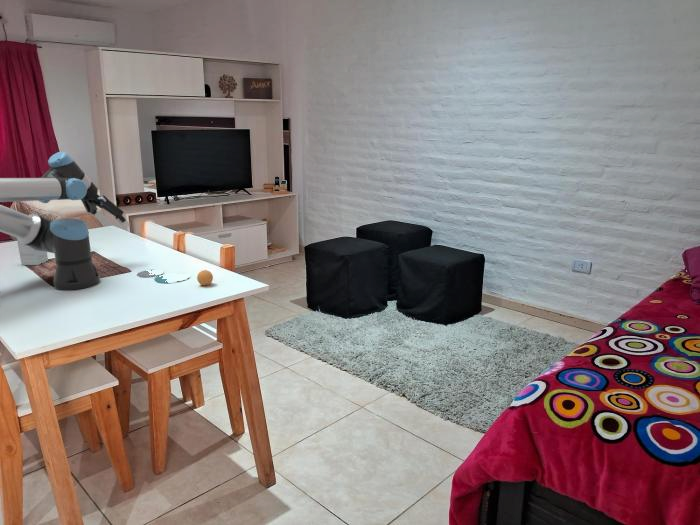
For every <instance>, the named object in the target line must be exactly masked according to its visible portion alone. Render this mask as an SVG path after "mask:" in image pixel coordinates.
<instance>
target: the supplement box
mask: <svg viewBox="0 0 700 525" xmlns="http://www.w3.org/2000/svg"><path fill="white" fill-rule="evenodd" d="M15 238H16V241H17V248H18V253H19V258H20V262H21V266H39V265H42V264H44V263H47V262H48V261H49V258H48V257H49V256H48V252H45V251H38V250H35V249H33V248H31V247H29V246H27V245H24V244H22V243H20V242H19V240H18V238H17V237H15ZM46 261H47V262H46ZM43 262H44V263H43ZM41 263H42V264H41Z"/></svg>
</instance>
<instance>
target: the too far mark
mask: <svg viewBox="0 0 700 525" xmlns="http://www.w3.org/2000/svg"><path fill="white" fill-rule="evenodd" d="M150 270H151V271H152V270H153V269H150ZM149 274H150V273H149V272H148V271H146V270H141V271H139V272H137V273H136V276H137V277H138V276H139V278H154V277H153V276H156V275H155V274H154V275H149ZM151 274H152V273H151ZM156 277H157V276H156Z"/></svg>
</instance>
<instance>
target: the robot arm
mask: <svg viewBox="0 0 700 525" xmlns="http://www.w3.org/2000/svg"><path fill="white" fill-rule="evenodd" d="M47 163H48V165H49V166H50V168H48V170H47V171H46V172H45V173H44V174H43V175H42V176H40V177H0V203H7V202H8V203H9V202H10V203H11V202H15V203H16V202H34V201H39V202H40V203H43V204H48V203H50V202H51V201H56V200H57V201H62V200H67V201H69V200H71V201H81V203H82V204H83V206H84V208H85V211H86V212H87V213H89V214H91V215H93V216H94V217H95V218H96V220H98V222H99V223H100V224H101V225H102V226H103V227H105V226H106V225H107V224H108V223H109V220H108V219H107V217H105V216H104V214H103V213H102V212H101V211H100V210H99V208H100V209H103V210H105V211H106V212H108V213H109V214H111V215H113V217H114V219H115V220H117V222H118V223H119V224H120V225H121V227H122V228H124V230H127V229H128V228H129V226H131V224H130V222H129V221H128V220H127V219H126V218H125V216H124V215H123V214H125V212H124V211H123V210H122V209H121V208H120V207H118V206H117V205H116V204H114V203H113V202H112V201H111V200H109V198H107V196H105V195H104V194H103V195H102V196H100V195H99V194H98V191H99V189H98V187H97V186H96V184H94V182H92V181H91V179H90V178H89V177H88V175H87V174H86V173H85V172H84V170H82V168H81V167H80V166H79V164H77V162H75V160H74V159H73V158H72V157H71V156H70V155H69V154H68V153H67V152H66V151H58V152H56V153H54V154H52V155H51V156H50V157H49V159H48V160H47ZM0 232H1V233H4V234H6V235H9V236H12V237H15V238H16V237H17V238H18V240H19V242H20V243H22V244H24V245H27V246H29V247H31V248H33V249H35V250H38V251H45V252H47V253H52V254H54V259H55V265H56V266H55V271H54V274H53V275H54V276H53V287H54V289H57V290H62V291H72V290H81V289H86V288H90V287H93V286H96V285H98V284H100V282H101V277H100V276H101V275H100V274H99V272H98V270H97V268H96V266H95V264H94V262H93V259H92V252H91V244H90V235H89V233H90V232H89V228H88V224H87V223H86V222H85V221H84V220H82V219H79V218H69V217H65V218H63V217H62V218H57V219H54V220H52V219H49V218H47V217H45V216H42V215H39V214H37V213H30V214H29V215H27V214H25V213H23V212H20V211H18V210H15V209H13V208H10V207H7V206H4V205H2V204H0ZM17 238H16V239H17Z"/></svg>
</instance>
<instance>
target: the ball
mask: <svg viewBox="0 0 700 525" xmlns="http://www.w3.org/2000/svg"><path fill="white" fill-rule="evenodd" d="M196 279H197V282H198V283H199V284H200V285H201V286H209V285H210V284H212V282H213V279H214V276H213V274H212V272H211V271H209V270H207V269H203V270H200V271H199V272H198V273H197V277H196Z"/></svg>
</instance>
